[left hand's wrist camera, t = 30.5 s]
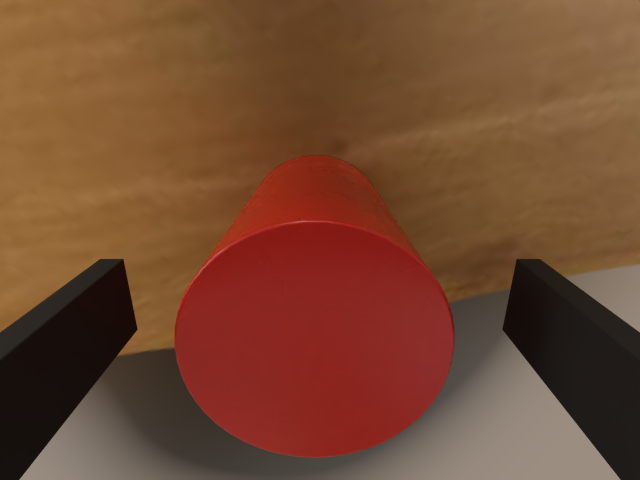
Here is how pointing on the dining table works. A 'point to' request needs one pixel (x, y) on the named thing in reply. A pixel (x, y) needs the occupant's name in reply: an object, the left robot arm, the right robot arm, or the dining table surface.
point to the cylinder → (314, 318)
